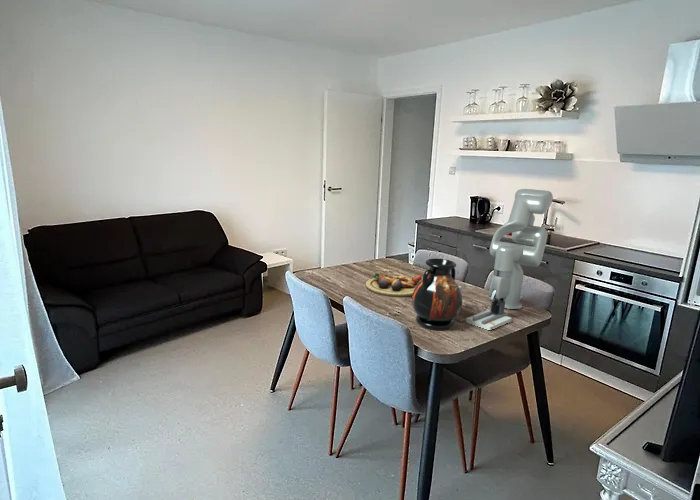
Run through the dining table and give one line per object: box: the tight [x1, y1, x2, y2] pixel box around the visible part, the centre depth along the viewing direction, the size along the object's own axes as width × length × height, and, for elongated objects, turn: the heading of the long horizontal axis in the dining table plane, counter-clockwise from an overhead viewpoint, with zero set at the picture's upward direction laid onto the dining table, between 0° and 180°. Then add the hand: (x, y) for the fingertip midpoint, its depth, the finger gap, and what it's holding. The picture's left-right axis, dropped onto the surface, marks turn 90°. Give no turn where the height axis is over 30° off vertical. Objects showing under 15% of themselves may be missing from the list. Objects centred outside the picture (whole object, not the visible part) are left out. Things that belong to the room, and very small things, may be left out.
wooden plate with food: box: [364, 272, 423, 298], centre depth 233 cm, size 32×32×8 cm
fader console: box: [465, 309, 513, 331], centre depth 192 cm, size 18×12×3 cm, turn 131°
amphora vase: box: [411, 258, 463, 331], centre depth 185 cm, size 22×22×28 cm
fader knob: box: [489, 299, 505, 315], centre depth 195 cm, size 3×5×7 cm, turn 41°
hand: (497, 311), depth 195 cm, fingers closed on fader knob, 3 cm apart
